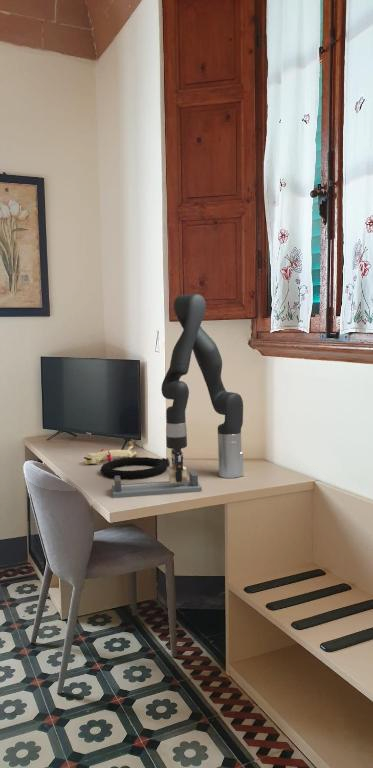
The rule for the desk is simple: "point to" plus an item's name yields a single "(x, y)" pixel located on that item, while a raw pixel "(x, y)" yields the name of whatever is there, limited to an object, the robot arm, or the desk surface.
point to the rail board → (155, 487)
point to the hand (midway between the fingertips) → (178, 479)
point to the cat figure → (109, 455)
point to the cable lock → (158, 464)
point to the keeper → (173, 475)
